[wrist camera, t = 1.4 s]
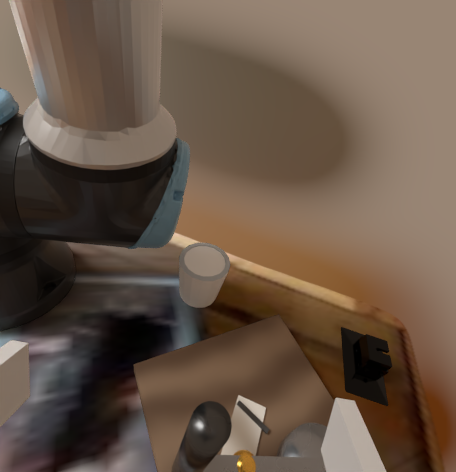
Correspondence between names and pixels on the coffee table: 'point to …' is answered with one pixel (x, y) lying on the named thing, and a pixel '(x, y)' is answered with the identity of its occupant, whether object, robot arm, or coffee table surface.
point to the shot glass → (202, 273)
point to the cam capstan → (243, 461)
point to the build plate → (365, 365)
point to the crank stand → (233, 390)
